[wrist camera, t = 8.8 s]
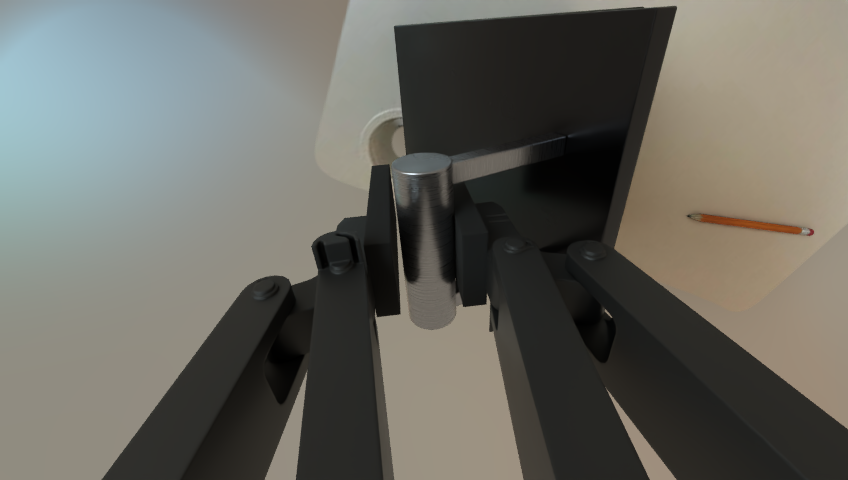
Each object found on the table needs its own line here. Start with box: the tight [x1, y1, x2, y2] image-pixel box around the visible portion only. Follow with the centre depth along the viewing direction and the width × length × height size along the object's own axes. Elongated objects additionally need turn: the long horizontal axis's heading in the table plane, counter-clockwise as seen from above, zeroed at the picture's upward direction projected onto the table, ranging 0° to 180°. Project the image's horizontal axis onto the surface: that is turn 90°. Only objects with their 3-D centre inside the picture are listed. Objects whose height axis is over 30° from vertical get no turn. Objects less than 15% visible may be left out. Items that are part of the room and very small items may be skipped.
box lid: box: [392, 6, 677, 330], centre depth 17 cm, size 17×13×7 cm
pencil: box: [688, 214, 814, 236], centre depth 44 cm, size 1×19×1 cm, turn 80°
